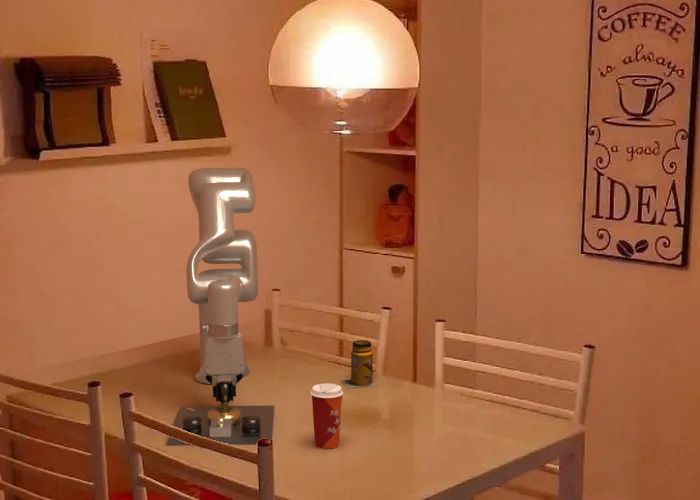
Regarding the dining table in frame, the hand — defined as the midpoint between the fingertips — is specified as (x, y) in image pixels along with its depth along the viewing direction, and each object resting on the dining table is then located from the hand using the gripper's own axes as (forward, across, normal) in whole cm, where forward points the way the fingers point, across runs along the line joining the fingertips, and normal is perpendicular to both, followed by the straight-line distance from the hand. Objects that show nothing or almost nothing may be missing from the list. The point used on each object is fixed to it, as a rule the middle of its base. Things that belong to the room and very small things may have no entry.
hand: (224, 398), depth 265 cm
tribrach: (+4, 0, -10) cm, 11 cm away
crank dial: (+2, 0, -6) cm, 7 cm away
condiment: (+5, +38, +22) cm, 44 cm away
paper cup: (+4, +23, -26) cm, 35 cm away
